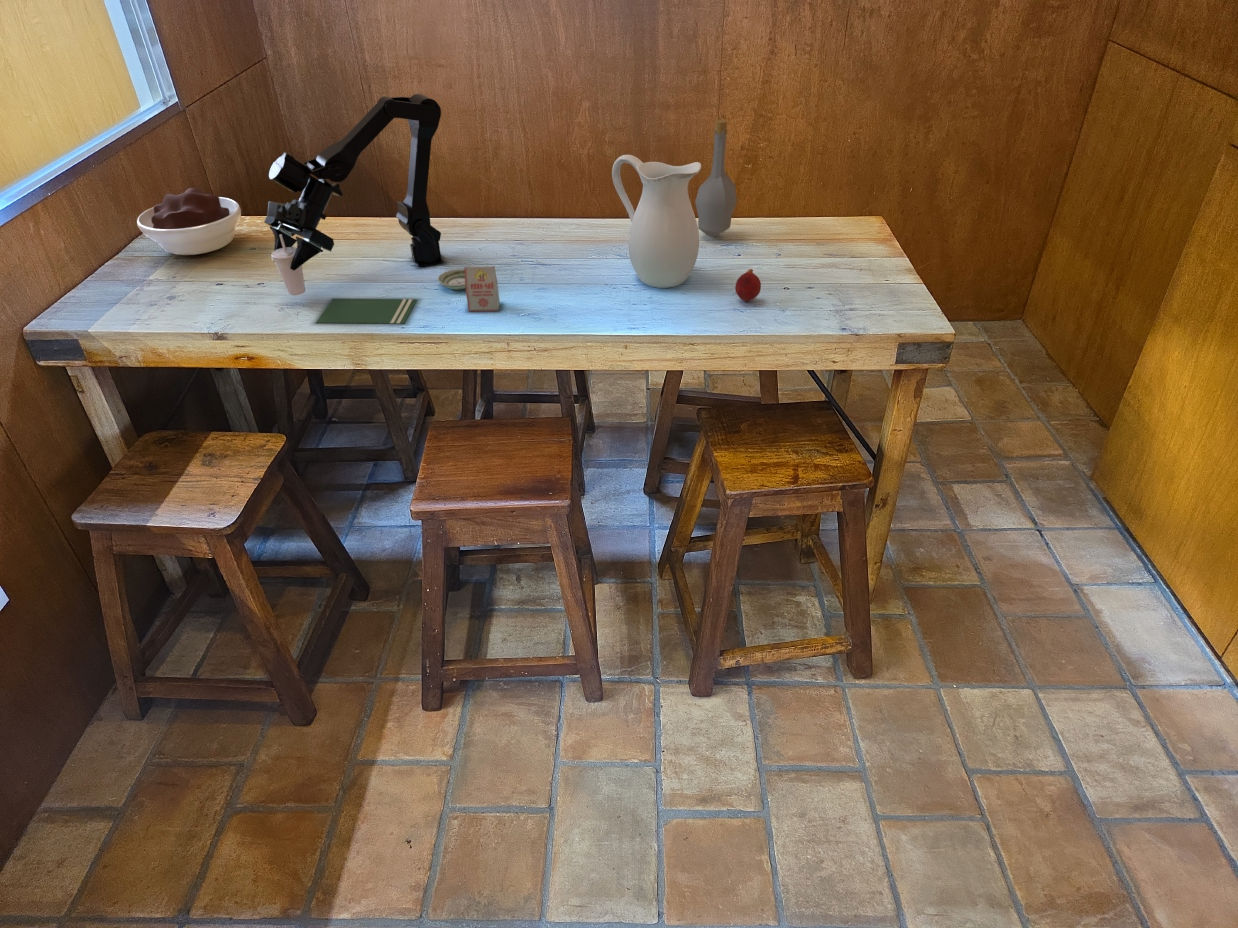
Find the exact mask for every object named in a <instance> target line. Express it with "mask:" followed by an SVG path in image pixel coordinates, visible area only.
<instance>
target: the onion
mask: <svg viewBox="0 0 1238 928" xmlns="http://www.w3.org/2000/svg"><path fill="white" fill-rule="evenodd" d="M761 288H762V282H761V279H760V278H759V277H758V276H757V275H756V274H755V273H754V270H753V268H748V269H747V271H746V272H744V273H743V274H741V275H740V276H739V277H738V278H737V280H736V282H735V286H734V289H735V293H736V295H737V297H738V298H739V299H740V300H742V301H744V302H746V303H749V302H750V301H753V300H754V299H755V298H757V297H758V296H759V294H760V292H761V290H762V289H761Z"/></svg>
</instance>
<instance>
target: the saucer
mask: <svg viewBox="0 0 1238 928" xmlns="http://www.w3.org/2000/svg"><path fill="white" fill-rule="evenodd" d="M437 282H438V283H439V284H440V285H442V286H443V287H445V288H447V289H450V290H452V291H461V290H466V288H465V272H464V268H454V269H450V270H447V271H444V272H442V273H441V274H439V275H438V277H437Z"/></svg>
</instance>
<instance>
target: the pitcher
mask: <svg viewBox="0 0 1238 928" xmlns="http://www.w3.org/2000/svg"><path fill="white" fill-rule="evenodd" d="M624 163H626V164H629V165H631V166H632V167H633V168H634V170H635V171H636V172H637V174H638V176H639V177H640V181H641V183H642V191H641V195H640V199H639V201H638V204H637V206H636V209H634V207H633V204H632V203H631V201H630V199H629V197H628V194H627V192H626V190H625V188H624V185H623V182H622V177H621V170H622V169H621V168H622V166H623V164H624ZM701 170H702V163H701V162H700V161H699V162H698V161H694V162H691V163H688V164H684V165H671V164H667V163H664V162H660V161H647V162H643V161H642V160H641V159H639V157H636V156H635V155H632V154H622V155H620V156H619V157H617V158H616V160H615V161H614V163H613V165H612V169H611V177H612V182H613V186H614V188H615V190H616V193H617V195H618V196H619V198H620V200H621V202H622V204H623V206H624V208H625V209H626V212H627V214H628V217H629V220H630V225H629V230H628V239H627V249H628V256H629V260H630V264H631V266H632V268H633V269H634V270H633V271H634V272H635V274H636V276H637V277H638V279H639V281H640V282H642V283H643V285H646V286H649V287H652V288H657V289H666V288H667V289H668V288H674V287H678V286H680V285H682V284H683V283H685V281H687V279H688V278H689V276H690V274H691V273H692V271H693V269H694V268H695V265H696V262H697V259H698V255H699V249H700V234H699V232H700V231H699V228H698V223H697V219H696V215H695V212H694V209H693V205H692V203H691V200H690V197H689V182H690V181H691V180H692V179H693V178H694V177H696V175H698V174H699V173H700V172H701Z"/></svg>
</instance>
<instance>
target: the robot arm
mask: <svg viewBox="0 0 1238 928" xmlns="http://www.w3.org/2000/svg"><path fill="white" fill-rule="evenodd" d="M441 116H442V109H441V106H440V104H439V103H438V101H436V100H435V99H433V98H431V97H429V96H426V95H425V94H422V93H415V94H412V95H411V96H393V97H392V96H385V95H384V96H381V97H380V98H378V100H377V102H376V103H375V105H373V106H372V108H371V109H370V110H369V111H368V112H367V113H366V114H365V115H364V116H363V117H362V118H361V119H360V120H359V121H358V123H356V125H354V127H353V128H352V129H350V130H349V132H348V133H347V134H346V135H345V136H344V137H343V138H342V139H340V140H339V141H337V142H334V143H332V144H330V145H329V146H328V147H326V148H324V149H323V150H322V151H320V152H319V153H318V155H317V156H316V157H314V158H312V159H309V160H306V161H304V162H301V161H299V159H297V158H295V157H294V156H293V155H291V154H290V153H289V152H287V151H283V153H282V155H281V156H279V157H278V158H277V159H276V160H275V161H273V163H272V165H271V166H270V169H269V172H268V178H269V180H271V181H272V182H275V183H276V184H278V185H279V186H281V187H283V188H284V189H287V190H288V191H290V192H291V193H294V194H296V193H300V197H299V198H298V199H293V200H292V201H291V202H289V201H287V202H286V203H283V202H277V201H271V200H269V201H268V202H267V203H268V204H267V213H266V214H267V215H266V217H265V219H264V220H263V223H264V224H266V225H268V226H269V230H271V231H272V234H273V236H274V248H273V252H274V251H275V250H277V249H280V248H283V246H282V243H281V239H280V236H279V235H280V234H282V237H283V240H284V244H285V247H294V245H297V247H296V248H297V249H296V252H295V254H294V257H293V260H292V263H291V266H290V269H292V270H296V269H297V268H299V267H300V266H301V265H302V266H303V265H304V264H305V263H306V262H308V261H309V260H311V259H312V258H314V257H315V256H317V255H318V254H320V253H323V252H324V250H326V251H328V252H331V253H332V251H333V248H334V246H335V241H334V238H333V237H331V236H329V235H327V234H325V233H324V232H322V231H320V230H319V229H317V228H318V227H319V224H320V221H321V220H323V221H326V218H327V215H326V214H324V213H325V211H326V208H327V207H328V205H329V202H330V200H331V198H332V195H333V196H337V197H343V192H342V189H341V187H340V183H342V182H344V181H346V180H347V179H348V177H349V176H350V175H351V173H352V171H353V170H354V168H355V166H356V163H357V160H358V159H359V157H360V156H361V154H362V153H363V152H364V151H365V149H366V148H367V147H369V145H370V144H371V143H372V142H373V141H374V140H375V139H376V138H377V136H379V135H380V133H381V132H383V131H384V129H386V128H387V126H388V125H389V124H390V123H391V122H392V121H393V120H394V119H402V120H403V119H404V120H407V122H408V127H409V130H410V134H411V135H410V137H411V138H410V150H409V161H408V162H409V163H408V177H407V188H406V196H405V198H404V200H403V201H400V200H398V201H397V213H396V215H395V217H396V218H397V220H398V225H399V226H400V227H401V228H402V229H403V230H404V231H405V232H406V233H408V235H410V236H411V237H410V240H411V243H410V244H409V246H410V252H411V257H412V260H413V262H414V263H415V264H416V265H417V267H419V268H422V267H428V266H434V265H439V264H443V263H444V259H443V258H442V253H441V247H440V241H441V237H442V232H441V231H440V230H438V229H437V228H435V227H434V226H433V225H431V214H430V209H429V206H428V202H427V197H428V195H427V194H428V184H429V183H428V182H429V174H430V173H429V172H430V162H431V161H430V160H431V152H432V151H431V150H432V149H431V148H432V140H433V138H434V136H435V134H436V132H437V130H438V128H439V125H440V121H441ZM312 175H313V176H312ZM328 180H329V181H328ZM332 182H334V183H332ZM294 236H295V238H294ZM273 263H275V261H273Z"/></svg>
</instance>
